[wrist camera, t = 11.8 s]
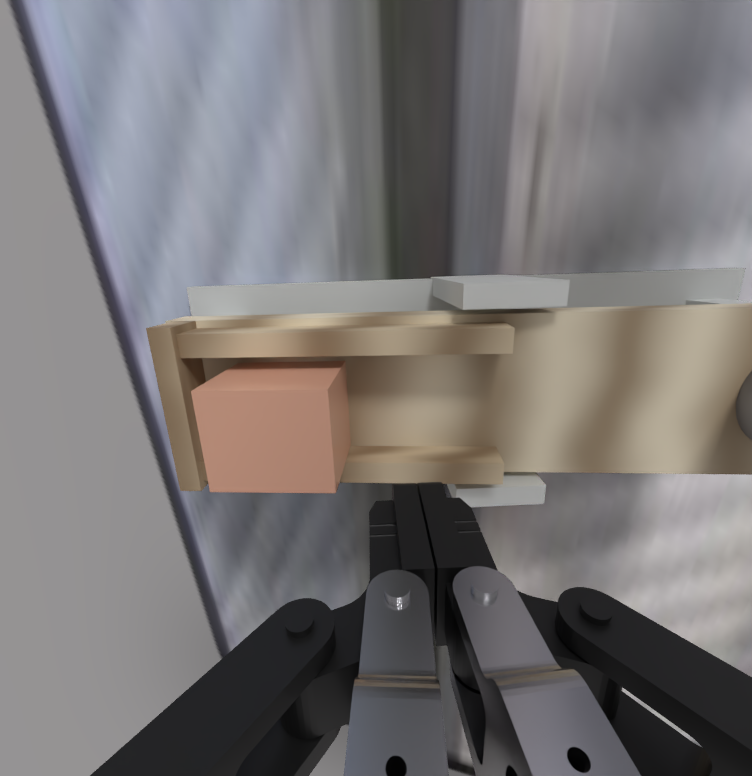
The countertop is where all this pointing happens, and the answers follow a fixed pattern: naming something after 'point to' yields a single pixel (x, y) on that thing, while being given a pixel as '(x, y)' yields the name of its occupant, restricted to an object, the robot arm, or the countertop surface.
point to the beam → (495, 387)
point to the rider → (275, 427)
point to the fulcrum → (477, 296)
